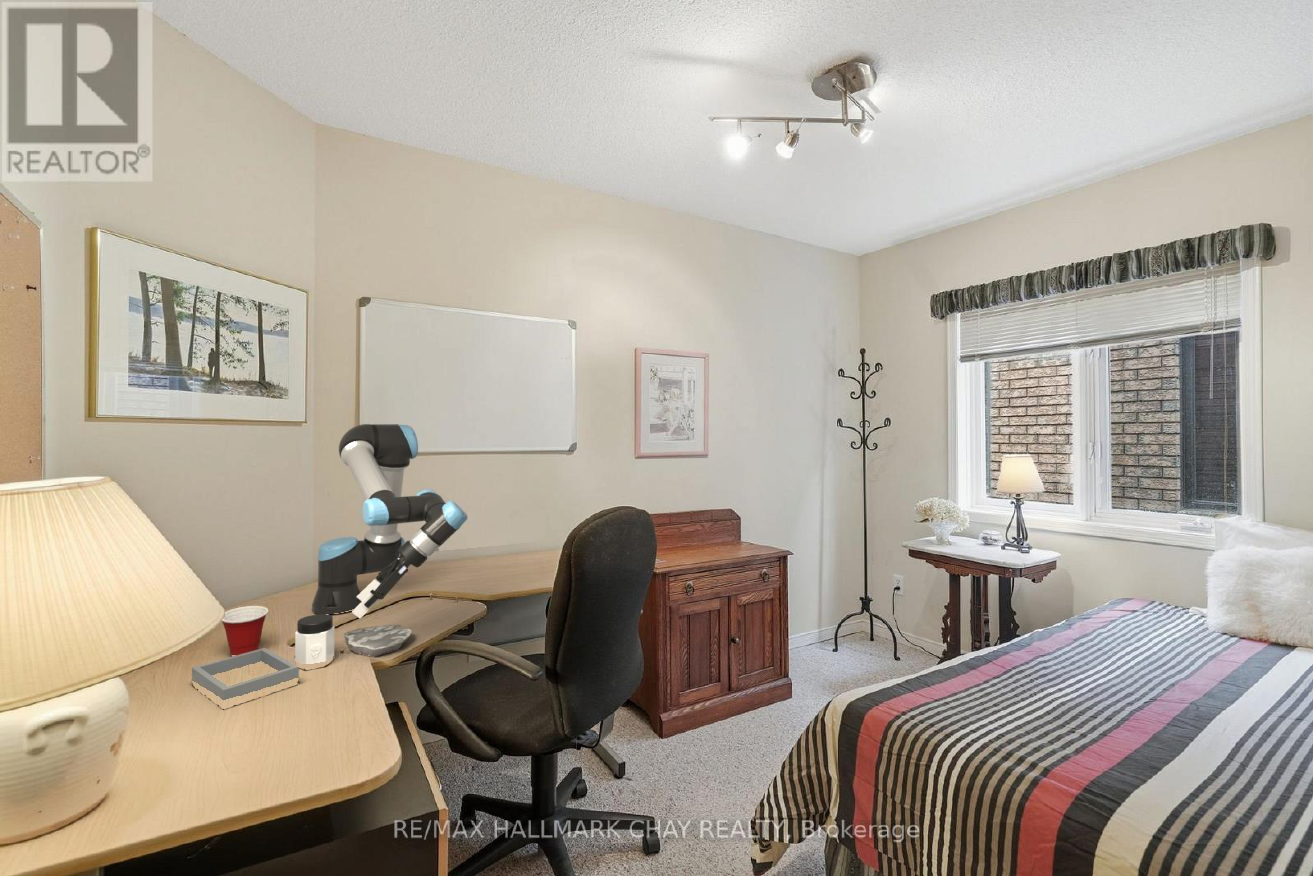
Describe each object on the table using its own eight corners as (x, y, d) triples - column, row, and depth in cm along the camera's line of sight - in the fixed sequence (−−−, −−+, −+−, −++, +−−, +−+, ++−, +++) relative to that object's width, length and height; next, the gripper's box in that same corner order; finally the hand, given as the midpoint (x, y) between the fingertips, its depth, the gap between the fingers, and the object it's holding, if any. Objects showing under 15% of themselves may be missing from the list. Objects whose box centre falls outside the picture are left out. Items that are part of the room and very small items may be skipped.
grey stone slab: (425, 644, 170) (426, 634, 170) (369, 664, 156) (369, 653, 156) (387, 629, 181) (387, 620, 181) (331, 646, 167) (332, 636, 167)
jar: (295, 673, 149) (296, 627, 148) (294, 661, 156) (294, 617, 155) (335, 666, 154) (336, 621, 153) (332, 655, 161) (333, 612, 160)
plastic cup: (215, 666, 151) (215, 621, 151) (223, 651, 161) (223, 608, 161) (265, 659, 156) (265, 615, 156) (270, 645, 166) (270, 603, 166)
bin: (191, 686, 141) (191, 667, 140) (264, 664, 153) (264, 647, 153) (223, 710, 130) (223, 690, 130) (298, 685, 143) (298, 666, 142)
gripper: (429, 568, 153) (365, 631, 147) (427, 547, 176) (372, 602, 171) (408, 549, 151) (341, 612, 145) (408, 531, 174) (351, 585, 168)
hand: (358, 607), depth 158 cm, fingers open, 13 cm apart
